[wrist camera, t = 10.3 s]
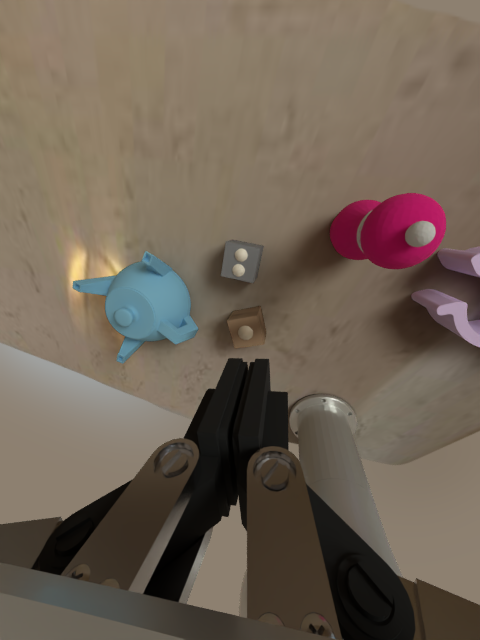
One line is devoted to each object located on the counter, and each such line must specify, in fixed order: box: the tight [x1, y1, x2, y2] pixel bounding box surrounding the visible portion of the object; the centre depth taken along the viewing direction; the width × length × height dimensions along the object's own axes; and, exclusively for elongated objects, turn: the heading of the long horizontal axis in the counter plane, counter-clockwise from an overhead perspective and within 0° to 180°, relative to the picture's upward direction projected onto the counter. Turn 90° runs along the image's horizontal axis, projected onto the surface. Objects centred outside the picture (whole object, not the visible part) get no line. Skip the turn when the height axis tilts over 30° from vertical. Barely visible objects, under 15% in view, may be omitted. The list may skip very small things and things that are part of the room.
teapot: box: [73, 251, 198, 364], centre depth 40 cm, size 15×15×11 cm
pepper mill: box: [330, 193, 446, 269], centre depth 26 cm, size 7×7×20 cm
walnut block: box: [227, 306, 266, 349], centre depth 40 cm, size 5×5×5 cm
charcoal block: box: [221, 240, 264, 283], centre depth 37 cm, size 5×5×5 cm
